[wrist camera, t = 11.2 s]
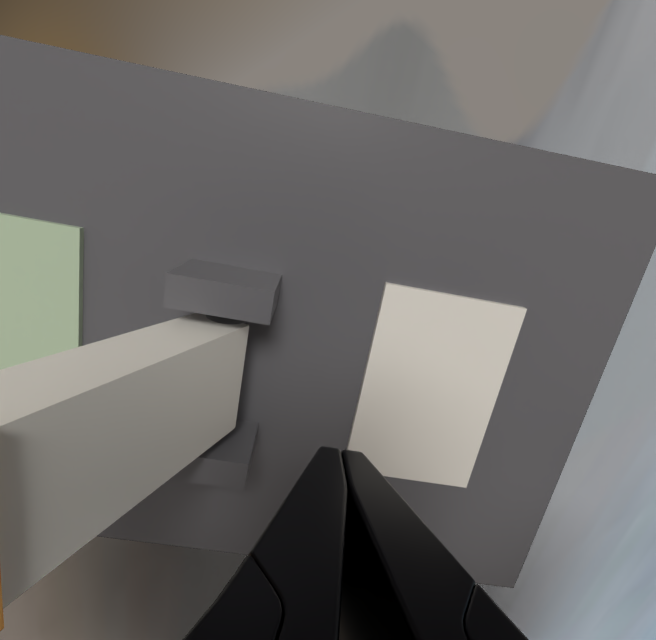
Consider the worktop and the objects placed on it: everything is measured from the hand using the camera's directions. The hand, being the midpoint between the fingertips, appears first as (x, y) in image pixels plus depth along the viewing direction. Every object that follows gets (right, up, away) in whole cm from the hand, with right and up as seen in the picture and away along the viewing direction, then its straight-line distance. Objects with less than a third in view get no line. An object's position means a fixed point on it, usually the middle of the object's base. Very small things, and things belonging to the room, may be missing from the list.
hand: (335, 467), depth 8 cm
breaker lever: (-3, +2, +3) cm, 5 cm away
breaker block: (-3, +3, +7) cm, 8 cm away
